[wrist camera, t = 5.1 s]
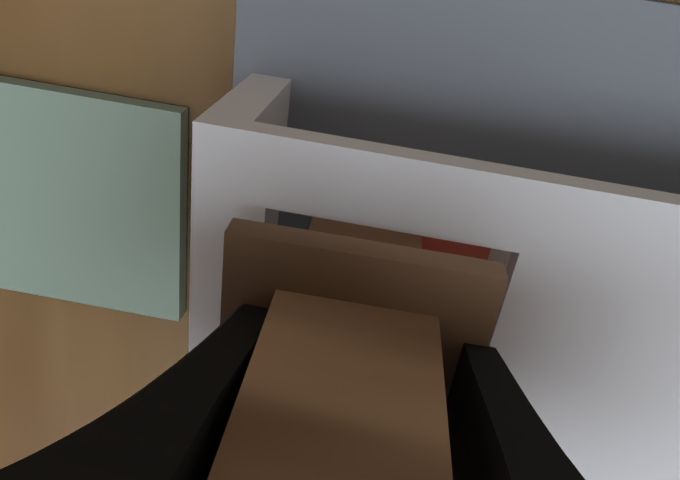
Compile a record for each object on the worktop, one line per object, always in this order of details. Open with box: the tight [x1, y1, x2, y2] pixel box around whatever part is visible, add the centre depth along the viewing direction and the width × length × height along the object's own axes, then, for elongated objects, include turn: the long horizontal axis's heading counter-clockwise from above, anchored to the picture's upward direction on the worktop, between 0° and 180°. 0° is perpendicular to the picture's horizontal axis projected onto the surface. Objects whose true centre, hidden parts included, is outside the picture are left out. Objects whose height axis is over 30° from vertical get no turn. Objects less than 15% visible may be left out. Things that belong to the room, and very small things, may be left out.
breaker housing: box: [188, 0, 680, 480], centre depth 15 cm, size 14×16×5 cm
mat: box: [0, 75, 188, 322], centre depth 18 cm, size 7×7×1 cm
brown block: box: [207, 217, 509, 480], centre depth 10 cm, size 5×5×10 cm
